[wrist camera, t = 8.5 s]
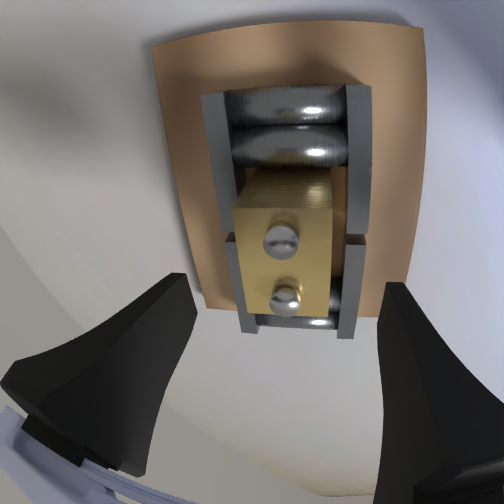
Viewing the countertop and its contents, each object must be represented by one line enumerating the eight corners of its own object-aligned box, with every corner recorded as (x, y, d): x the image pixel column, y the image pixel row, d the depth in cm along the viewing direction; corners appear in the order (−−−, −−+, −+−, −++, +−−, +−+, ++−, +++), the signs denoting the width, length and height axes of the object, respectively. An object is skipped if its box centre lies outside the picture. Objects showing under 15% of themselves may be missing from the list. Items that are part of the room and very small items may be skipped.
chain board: (416, 30, 10) (422, 28, 9) (394, 307, 19) (396, 317, 18) (160, 47, 13) (151, 46, 12) (211, 298, 22) (206, 308, 21)
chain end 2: (362, 225, 15) (366, 245, 14) (352, 315, 19) (353, 338, 17) (234, 223, 17) (224, 242, 15) (248, 310, 20) (241, 332, 19)
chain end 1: (364, 84, 11) (371, 85, 10) (363, 214, 15) (367, 234, 13) (215, 91, 13) (199, 95, 11) (233, 213, 16) (222, 231, 15)
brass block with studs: (330, 164, 14) (333, 216, 9) (329, 252, 16) (327, 327, 12) (258, 165, 15) (225, 216, 10) (267, 250, 17) (244, 322, 13)
